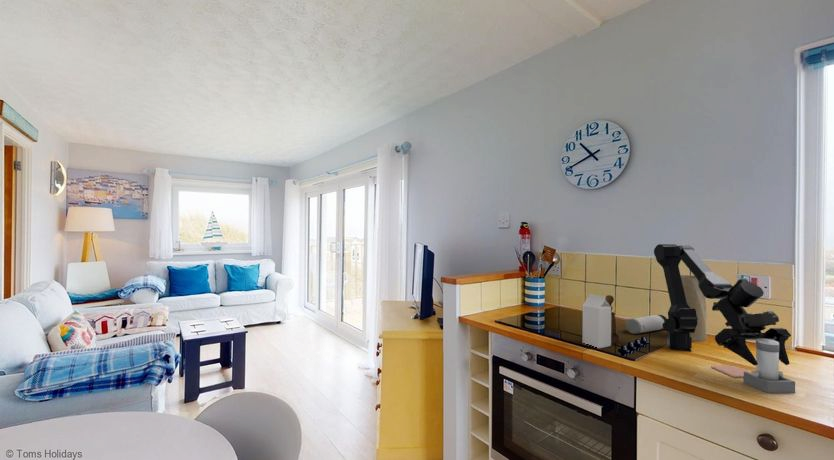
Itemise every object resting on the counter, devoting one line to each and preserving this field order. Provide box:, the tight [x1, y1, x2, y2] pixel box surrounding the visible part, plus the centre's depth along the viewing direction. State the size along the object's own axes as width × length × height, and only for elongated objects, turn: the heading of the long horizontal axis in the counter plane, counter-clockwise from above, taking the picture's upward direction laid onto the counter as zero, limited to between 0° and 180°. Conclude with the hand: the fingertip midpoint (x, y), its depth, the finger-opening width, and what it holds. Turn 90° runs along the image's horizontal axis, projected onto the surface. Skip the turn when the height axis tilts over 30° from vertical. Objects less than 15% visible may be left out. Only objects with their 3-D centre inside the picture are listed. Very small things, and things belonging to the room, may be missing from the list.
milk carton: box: [582, 293, 612, 349], centre depth 139 cm, size 7×7×19 cm
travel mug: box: [625, 314, 668, 335], centre depth 158 cm, size 6×7×20 cm
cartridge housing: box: [743, 370, 796, 394], centre depth 103 cm, size 7×9×4 cm
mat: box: [711, 365, 751, 379], centre depth 113 cm, size 8×8×1 cm
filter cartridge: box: [755, 338, 780, 381], centre depth 103 cm, size 5×5×13 cm
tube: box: [680, 274, 707, 343], centre depth 149 cm, size 10×10×25 cm
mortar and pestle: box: [604, 295, 620, 344], centre depth 145 cm, size 7×6×18 cm
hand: (772, 364), depth 102 cm, fingers open, 9 cm apart
